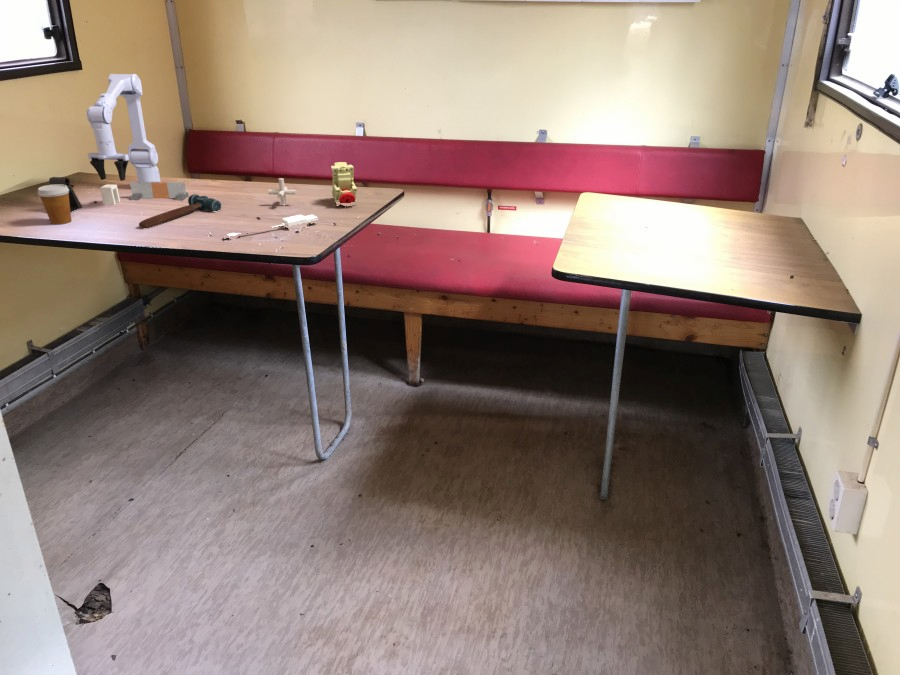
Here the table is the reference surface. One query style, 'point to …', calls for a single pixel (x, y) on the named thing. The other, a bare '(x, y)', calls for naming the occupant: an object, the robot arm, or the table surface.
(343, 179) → the mechanical component
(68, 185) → the phone stand
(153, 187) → the grey and orange bar
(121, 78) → the robot arm
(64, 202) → the disposable coffee cup
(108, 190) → the clip
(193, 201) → the hammer
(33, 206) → the table surface
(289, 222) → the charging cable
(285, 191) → the pipe connector
